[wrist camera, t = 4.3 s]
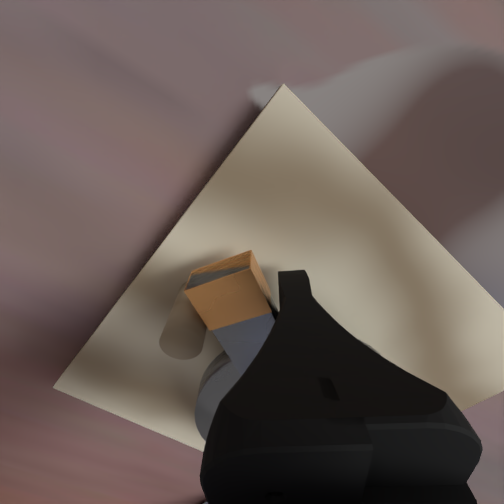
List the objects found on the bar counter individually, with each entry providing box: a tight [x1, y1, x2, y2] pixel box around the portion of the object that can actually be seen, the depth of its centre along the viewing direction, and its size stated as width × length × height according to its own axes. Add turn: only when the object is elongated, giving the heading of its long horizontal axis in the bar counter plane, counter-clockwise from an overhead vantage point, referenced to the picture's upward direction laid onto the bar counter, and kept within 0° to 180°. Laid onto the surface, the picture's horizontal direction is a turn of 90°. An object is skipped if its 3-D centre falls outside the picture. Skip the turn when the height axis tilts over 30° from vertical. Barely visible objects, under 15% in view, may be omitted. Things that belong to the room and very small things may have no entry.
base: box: [53, 84, 504, 452], centre depth 14 cm, size 20×20×6 cm
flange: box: [184, 250, 381, 442], centre depth 13 cm, size 14×10×1 cm
